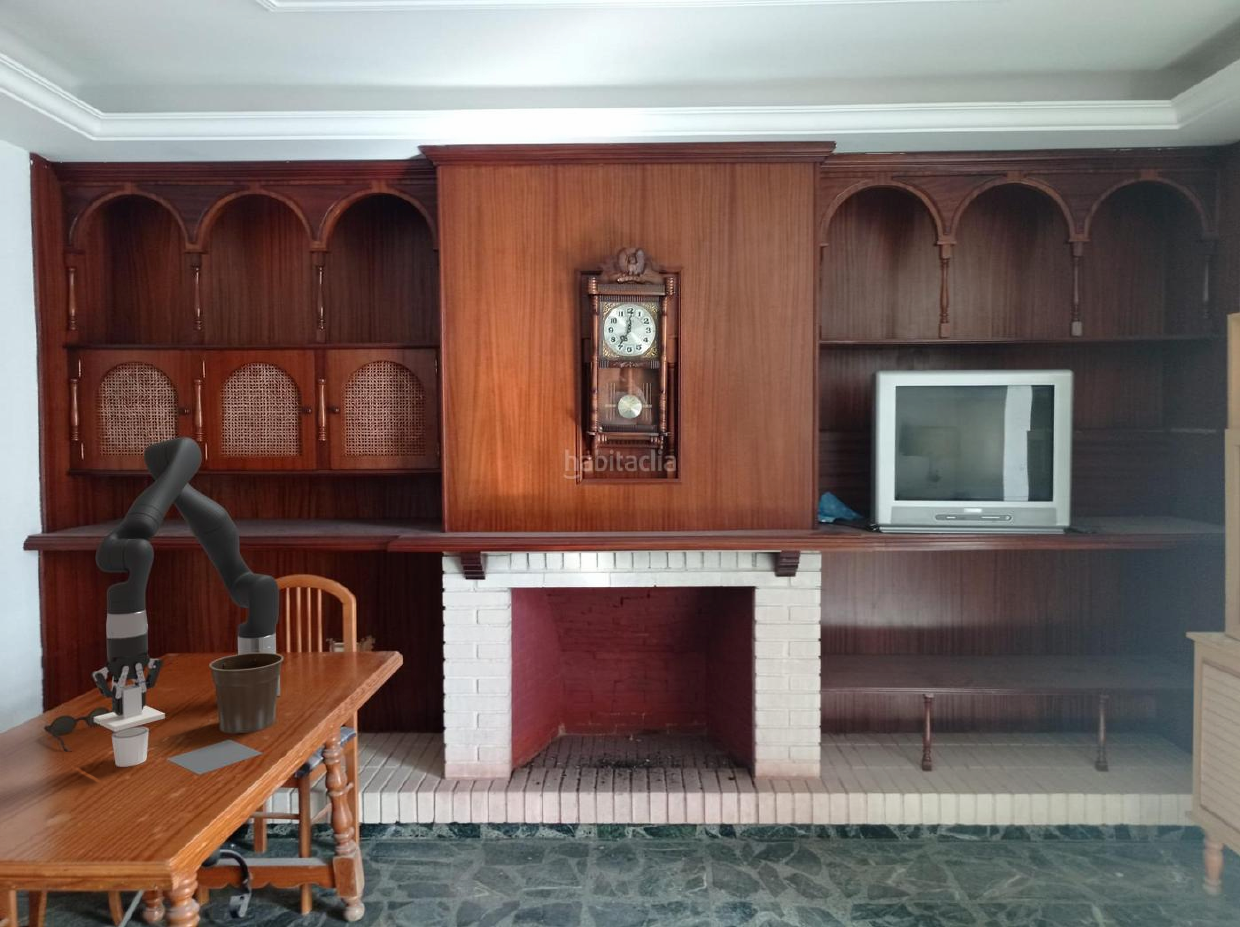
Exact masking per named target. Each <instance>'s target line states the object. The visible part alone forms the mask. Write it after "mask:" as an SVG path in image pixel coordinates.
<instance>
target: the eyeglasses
mask: <svg viewBox="0 0 1240 927" xmlns="http://www.w3.org/2000/svg"><path fill="white" fill-rule="evenodd" d="M112 712H113V711H112V710H109V709H108V708H107V707H105V706H98V707H95V708H93V709H92V710H91V711H90V712H89V713H88V714H87V716H80V717H77V718H74V717H73V716H72V715H69V714H66V715H60V716H58V717H56V718H55V719H54V720H53V721H52V722H51V724H50V725H45V726H44V727H43V729H44V731H46V732H47V733H48V734H50V735H51V736H53V737H55V738H56V739H57V740H59V741H60V743H61V745H62V746H61V747H62V749H63V751H64V752H69V753H73V752H74V751H73V750H71V749H68V748H67V747H66V745H65V742H64V740H63V738H62V737H61V735H65V734H64V733H66V734H69V733H68V732H71V733H72V732H73V731H74V730H75V728H76V726H77V724H78V722H79V721H84V722H85V724H86V725H87V726H88V727H89V728H93V727H92V726H94V727H96V726H95V725H97V726H100V725H99V724H98V723H96V722H94V717H96V716H100V715H104V714H108V713H112ZM130 728H131V727H130ZM60 734H61V735H60Z"/></svg>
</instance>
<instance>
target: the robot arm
mask: <svg viewBox="0 0 1240 927" xmlns="http://www.w3.org/2000/svg"><path fill="white" fill-rule="evenodd" d="M202 459H203V456H202V450H201V448H200V446H199V444H198V443H197V442H196V440H194V439H192V438H191V437H187V436H183V437H175V438H172V439H168V440H164V441H159V442H155V443H152V444H150V445H148V446H147V447H146V448H145V449H144V453H143V460H144V463H145V466H146V469H147V470H148V472H149V473H150V475H151V477H152V478H153V479H154V480H155V481H154V482H153V483H152V484H151V485H150V486H148V487H147V488H146V489H145V490H143V492H142V493H141V494H139V495H138V497H137V498H136V499H135V500H134V501H133V503H132V504H131V506H130V508H129V509H128V511H127V513H126V514H125V517H124V518H123V520H122V521H121V523H119V524H118V525H117V526H116V527H115V528H114V529H113V530H112V531H111V532H110V533H109V534H108V535H106V536H105V537H104V538H103V539H102V541H101V542H100V544H99V545H98V546H97V549H96V552H95V563H96V565H97V567H98V568H99V569H100V570H101V571H103V572H106V573H129V576H128V579H127V580H126V581H122V582H117V583H115V584H114V583H113V584H111V585H110V586H109V587H108V588H107V592H106V606H107V607H106V609H107V617H106V624H105V625H106V626H105V627H106V657H107V661H106V663H105V666H104V667H103V668H101V669H99V670H98V671H97V670H95V671H92V672H91V677H92V679H93V680H94V684H95V685H96V687H97V689H98V691H99V692H100V694H101V696H103V697H105V698H107V699H110V698H111V705H112V706H111V711H113V712H114V713H115V714H116V715H118V716H120V715H123V699H122V698H121V696H122V692H123V688H124V686H126V682H127V681H129V680H131V681H132V682H133V684H134V685H137V686H139V687H141V696H142V710H143V707H144V706H147V700H146V699H147V698H146V696H147V695H146V694H147V690H149V689H151V688H154V687H155V685H156V684H157V681H158V677H159V675H160V672H161V669H162V666H163V664H164V661H163V660H161V659H159V658H156V657H155V658H151V657H150V655H149V653H148V652H149V644H148V642H149V641H148V640H149V639H148V638H149V637H148V633H149V632H148V629H149V625H148V618H147V617H148V616H147V610H146V608H147V606H146V590H147V589H146V588H147V584H148V580H149V576H150V572H151V569H152V565H153V562H154V558H155V552H154V548H153V546H152V544H151V543H150V541H151V540H153V538H155V536H156V535H157V533H158V530H160V526H161V525H162V523H163V521H164V518H165V517H166V515H167V513H168V511H169V509H170V507H171V506H172V504H173V505H174V506H175V508H176V509H177V510H178V512H179V513H180V515H181V516H182V518H183V519H184V520H185V523H186V524H187V526H188V528H190V531H191V532H192V534H193V535H194V537H195V539H196V540H197V542H198V544H200V546H201V548H202V549H203V550H204V552H205V553H206V555H207V556H208V558H209V560H210V561H211V564H213V566H214V567H215V569H216V572H218V574H219V576H220V578H221V580H222V582H223V584H224V587H225V590H226V592H227V593H228V595H229V597H230V598H231V599H230V600H232V602H233V603H234V604H235V605H237V606H238V607H241V608H244V609H248V610H247V613H248V614H247V620H246V621H244V622H242V623H240V624H239V625H237V626H238V627H237V655H238V654H246V653H275V654H277V644H276V643H277V641H276V637H277V636H276V627H277V624H278V621H279V618H280V617H279V614H280V612H279V610H280V588H279V585H278V581H277V580H276V579H275V578H274V577H273V576H271V575H268V574H262V573H254V572H253V571H252V570H251V569H250V568H249V566H248V565H247V563H246V562H245V560H244V558H243V557H242V555H241V552H240V551H241V550H240V535H239V532H238V531H239V530H238V529H237V528H238V527H237V526H236V525H235V523H234V522H233V520H232V517H231V516H230V515H229V513H228V511H227V510H226V509H225V507H223V506H222V505H220V504H219V503H218V502H216V501H215V500H213V499H212V498H210V497H208V496H206V495H205V494H203V493H201V492H200V491H198V490H196V489H195V488H194V487H193V486H192V485H190V483H189V482H190V481H191V479H192V478H193V477H194V476H195V474H196V473H197V472H198V471H199V469H200V467H201V464H202ZM147 667H148V672H147V675H146V677H145V675H144V671H145V669H146V668H147ZM108 673H109V674H110V675H111V677H112V680H111V688H110V686H109V683H108V682H107V678H108ZM280 696H281V674H280V675H279V678H278V689H277V697H280Z"/></svg>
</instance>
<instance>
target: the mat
mask: <svg viewBox="0 0 1240 927" xmlns="http://www.w3.org/2000/svg"><path fill="white" fill-rule="evenodd" d="M263 754H264V753H263V752H261V751H258V750H256V749H254V748H252V747H248V746H247V745H244V744H242V743H239V742H236V741H234V740H231V739H226V740H223V741H219V742H218V743H217V742H216V743H214V744H211V745H207V746H204V747H201V748H198V749H194V750H191V751H187V752H186V753H185V752H184V753H180V754H178V755H175V756H171V757H169V758H166V760H167V761H170V762H171V763H173V764H176V765H178V766H179V767H182V768H184V769H186V770H188V771H191V772H192V773H194V774H196V775H198V776H200V775H203V774H206V773H210V772H212V771H216V770H218V769H221V768H224V767H227V766H231V765H234V764H236V763H238V762H242V761H245V760H248V759H251V758H254V757H257V756H260V755H263Z"/></svg>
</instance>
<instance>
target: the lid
mask: <svg viewBox="0 0 1240 927" xmlns="http://www.w3.org/2000/svg"><path fill="white" fill-rule="evenodd" d="M121 698H122V699H123V715H120V716H118V715H116V714H115V713H114V712H112V713H108V714H104V715H100V716H96V717H94V722H96V723H98V724H100V725H99V726H102V727H104V728H106V729H108V730H111V731H112V732H114V733H115V732H116V731H119V730H123V729H127V728H130V727H139V726H141V725H144V724H148V723H149V724H150V723H152V722H156V721H159V720H164V719H166V713H165V712H162V711H159V710H157V709H155V708H152V707H150V706H148V705H145V706H144V707H143V710H142V696H141V687H139V686H137V685H134V683H132V684H128V685H125V686H124V688H123V692H122V696H121Z"/></svg>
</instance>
